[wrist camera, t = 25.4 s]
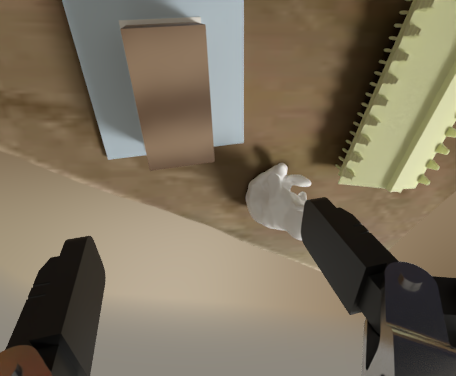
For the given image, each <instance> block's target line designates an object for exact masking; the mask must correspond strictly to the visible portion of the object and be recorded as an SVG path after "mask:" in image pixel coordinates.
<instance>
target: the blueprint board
mask: <svg viewBox="0 0 456 376" xmlns="http://www.w3.org/2000/svg"><path fill="white" fill-rule="evenodd" d="M62 2H63V6H64V9H65V12H66V16H67V19H68V23H69V26H70V30H71V33H72V37H73V40H74V43H75V47H76V50H77V54H78V57H79V61H80V64H81V68H82V71H83V75H84V78H85V81H86V85H87V88H88V92H89V95H90V99H91V102H92V106H93V109H94V112H95V116H96V119H97V123H98V126H99V130H100V133H101V137H102V140H103V143H104V147H105V150H106V154H107V157H108V160H110V159H118V158H126V157H134V156H142V155H147V154H146V150H145V145H144V140H143V135H142V131H141V126H140V121H139V116H138V112H137V107H136V102H135V97H134V93H133V88H132V83H131V78H130V74H129V69H128V64H127V59H126V55H125V50H124V45H123V40H122V35H121V31H120V29H121V28H123V27H124V26H125V25H140V24H160V23H180V22H198V23H202V24H205V25H206V39H207V54H208V69H209V83H210V98H211V113H212V128H213V143H214V147H215V146H223V145H231V144H239V143H244V0H62Z"/></svg>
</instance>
